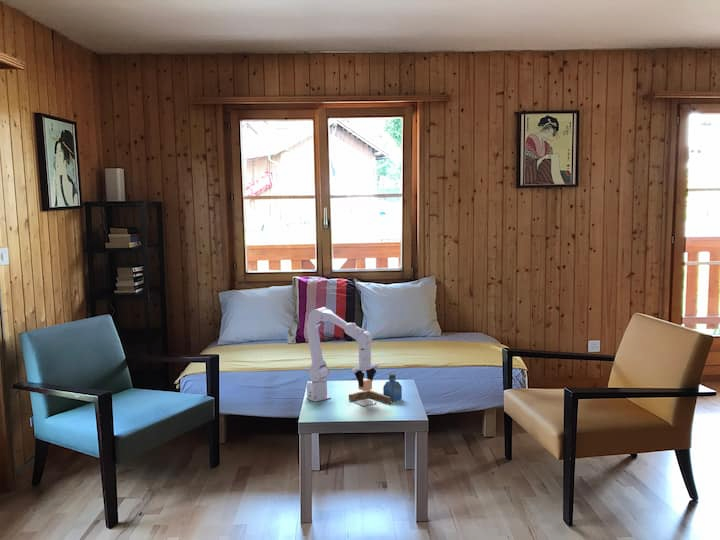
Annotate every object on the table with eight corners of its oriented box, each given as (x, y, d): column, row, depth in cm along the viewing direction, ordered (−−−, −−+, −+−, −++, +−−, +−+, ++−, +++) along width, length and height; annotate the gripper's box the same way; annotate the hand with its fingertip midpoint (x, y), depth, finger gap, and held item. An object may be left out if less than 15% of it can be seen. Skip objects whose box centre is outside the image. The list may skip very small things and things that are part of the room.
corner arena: (369, 408, 284) (369, 402, 283) (346, 400, 298) (346, 394, 298) (390, 403, 291) (390, 397, 291) (367, 395, 306) (367, 389, 305)
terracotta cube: (358, 389, 292) (358, 379, 292) (365, 387, 295) (365, 377, 295) (364, 391, 289) (364, 381, 288) (371, 389, 291) (371, 379, 291)
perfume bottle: (392, 396, 302) (392, 372, 301) (401, 399, 298) (401, 374, 297) (383, 399, 298) (383, 375, 297) (392, 402, 293) (392, 377, 292)
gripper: (357, 360, 283) (358, 390, 284) (382, 356, 292) (382, 384, 293) (348, 358, 289) (349, 387, 290) (372, 353, 297) (373, 381, 298)
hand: (365, 385), depth 292 cm, fingers closed on terracotta cube, 4 cm apart
